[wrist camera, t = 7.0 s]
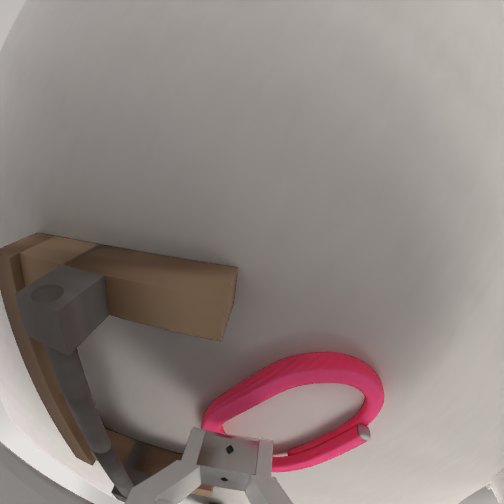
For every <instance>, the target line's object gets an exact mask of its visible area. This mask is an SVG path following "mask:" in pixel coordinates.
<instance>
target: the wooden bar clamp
mask: <svg viewBox="0 0 504 504" xmlns="http://www.w3.org/2000/svg"><path fill="white" fill-rule="evenodd" d="M237 269H238V268H237V267H231V266H224V265H218V264H212V263H206V262H199V261H193V260H187V259H181V258H175V257H169V256H163V255H158V254H152V253H146V252H140V251H134V250H129V249H123V248H118V247H112V246H106V245H101V244H95V243H90V242H84V241H79V240H74V239H68V238H63V237H58V236H53V235H47V234H42V233H35V234H33V235H30V236H28V237H26V238H23V239H21V240H19V241H16V242H14V243H12V244H10V245H7V246H5V247H3V248H1V249H0V290H1V294H2V298H3V302H4V305H5V309H6V312H7V316H8V319H9V322H10V325H11V328H12V331H13V334H14V337H15V340H16V343H17V345H18V348H19V351H20V353H21V356H22V358H23V361H24V363H25V366H26V368H27V370H28V372H29V375H30V377H31V379H32V381H33V383H34V386H35V388H36V390H37V392H38V394H39V396H40V398H41V400H42V402H43V404H44V405H45V407H46V409H47V411H48V413H49V415H50V416H51V418H52V420H53V422H54V423H55V425H56V427H57V428H58V430H59V432H60V433H61V435H62V436H63V438H64V440H65V441H66V443H67V444H68V446H69V447H70V449H71V450H72V452H73V453H74V455H75V456H76V457H77V458H79V459H80V460H82V461H84V462H86V463H88V464H90V465H92V466H93V464H94V463H95V461H96V460H97V461H99V463H100V464H101V466H102V467H103V469H104V470H105V472H106V473H107V475H108V476H109V478H110V479H111V481H112V482H113V483H114V485H115V486H114V488H113V490H112V494H113V495H114V496H115V497H116V498H117V499H118V500H120V501H123V502H126V500H127V498H128V496H129V493H130V491H131V489H132V488H133V487H135V486H136V485H138V484H140V483H141V482H143V481H145V480H146V479H148V478H150V477H151V476H153V475H155V474H156V473H158V472H159V471H161V470H163V469H164V468H166V467H167V466H169V465H170V464H172V463H173V462H175V461H176V460H180V461H181V459H182V456H183V455H182V454H178V453H174V452H171V451H167V450H164V449H161V448H157V447H154V446H151V445H148V444H145V443H142V442H139V441H136V440H134V439H131V438H128V437H125V436H123V435H120V434H118V433H115V432H113V431H110V430H108V429H106V428H104V425H103V423H102V421H101V418H100V416H99V413H98V411H97V408H96V406H95V403H94V400H93V398H92V395H91V392H90V389H89V387H88V384H87V381H86V378H85V375H84V372H83V368H82V365H81V362H80V358H79V355H78V351H77V347H78V346H79V345H80V344H81V343H82V342H83V341H84V340H85V338H86V337H87V336H88V335H89V334H90V333H91V332H92V331H93V330H94V329H95V328H96V327H97V326H98V325H99V324H100V323H101V322H102V321H103V320H104V319H105V318H106V317H107V316H108V315H112V316H115V317H119V318H122V319H126V320H130V321H133V322H137V323H141V324H145V325H149V326H153V327H157V328H161V329H165V330H169V331H173V332H178V333H182V334H187V335H192V336H196V337H201V338H206V339H211V340H217V341H221V339H222V336H223V333H224V330H225V327H226V324H227V321H228V318H229V316H230V313H231V310H232V307H233V304H234V296H235V287H236V278H237ZM213 487H214V486H211V485H206V484H201V485H200V486H199V487H198V488H196V489H195V490H194V491H193V492H192V493H191V494H195V495H200V496H204V497H209V498H211V496H212V491H213Z"/></svg>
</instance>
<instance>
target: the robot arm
mask: <svg viewBox="0 0 504 504" xmlns="http://www.w3.org/2000/svg"><path fill="white" fill-rule="evenodd" d="M272 457H273V440H264V439H258V438H250V437H242V436H235V435H228V434H223V433H218V432H213V431H208V430H205V429H200V428H195V427H193V428H192V430H191V433H190V436H189V438H188V441H187V444H186V447H185V450H184V453H183V456H182V459H181V461H180V460H176V461H175V462H173V463H172V464H170V465H169V466H167V467H166V468H164V469H163V470H161V471H159V472H158V473H156V474H155V475H153V476H151V477H150V478H148V479H146V480H145V481H143V482H141V483H140V484H138V485H136V486H135V487H133V488H132V489H131V491H130V493H129V496H128V498H127V500H126V502H125V504H178V503H179V502H180V501H182V500H183V499H184V498H185V497H187V496H188V495H189V494H190V493H192V492H193V491H194V490H195V489H196V488H198V487H199V486H200V485H201V484H206V485H211V486H217V487H223V488H228V489H234V490H240V491H245V493H246V495H247V497H248V499H249V501H250V503H251V504H293V503H292V501H291V500H290V499H289V497H288V496H287V494H286V493H285V491H284V490H283V489H282V487H281V486H280V484H279V483H278V481H277V480H276V478H275V477H271V469H272ZM486 487H487V489H488V490H489V489H492V490H493V493H494V495H495V497H496V499H497V501H498V503H499V504H504V468H503V469H502V470H501V471H500V472H499V473H498V474H497V475H496V476H495V477H494V478H493V479H492V480H491V482H490V484H488V485H486ZM0 504H94V503H92V502H90V501H88V500H86V499H84V498H82V497H80V496H78V495H76V494H75V493H73V492H71V491H69V490H68V489H66V488H64V487H62V486H61V485H59V484H57V483H56V482H54V481H53V480H51V479H49V478H48V477H46V476H45V475H43V474H42V473H40V472H39V471H38V470H36V469H35V468H33V467H32V466H31V465H29V464H28V463H26V462H25V461H24V460H22V459H21V458H20V457H18V456H17V455H16V454H15V453H13V452H12V451H11V450H10V449H8V448H7V447H6V446H5V445H4V444H3V443H1V442H0Z"/></svg>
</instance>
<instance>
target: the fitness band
mask: <svg viewBox="0 0 504 504" xmlns="http://www.w3.org/2000/svg"><path fill="white" fill-rule="evenodd" d="M313 383H341V384H346V385H350V386H353V387H356V388H357V389H359V390H360V391H362V393H363V394H364V395H365V402H364V404H363V406H362V408H361V409H360V410H359V412H358V413H357V414H356V415H355V416H354V417H353V418H352V419H350V420H349V421H348V422H346V423H345V424H343V425H342V426H340V427H338V428H337V429H335V430H333V431H331V432H330V433H328V434H326V435H324V436H322V437H320V438H317V439H315V440H313V441H311V442H308V443H306V444H303V445H301V446H299V447H296V448H294V449H291V450H289V451H288V452H287V454H288V456H284V457H272V469H271V472H287V471H294V470H299V469H303V468H307V467H311V466H314V465H317V464H319V463H322V462H324V461H327V460H329V459H332V458H334V457H336V456H338V455H341V454H343V453H345V452H347V451H349V450H351V449H353V448H355V447H357V446H359V445H361V444H363V443H364V442H366V441H367V440H369V439H370V431H369V428H368V427H367V425H368V424H369V423H370V422H371V421H372V420H373V419H374V418H375V417H376V416H377V414H378V413H379V411H380V410H381V408H382V406H383V402H384V392H383V387H382V384H381V381H380V379H379V377H378V375H377V374H376V373H375V371H374V370H373V369H372V368H371V367H370V366H368V365H367V364H366V363H364V362H363V361H361V360H359V359H357V358H355V357H352V356H349V355H346V354H341V353H335V352H315V353H306V354H301V355H296V356H292V357H288V358H285V359H282V360H280V361H277V362H275V363H273V364H271V365H269V366H267V367H266V368H264V369H262V370H260V371H259V372H257V373H255V374H254V375H252V376H250V377H249V378H247V379H246V380H244V381H242V382H241V383H239V384H238V385H236V386H234V387H233V388H231V389H230V390H228V391H227V392H225V393H224V394H222V395H221V396H219V397H218V398H217V399H215V400H214V401H213V402H212V403H211V405H210V406H209V407H208V408H207V410H206V412H205V414H204V417H203V421H202V426H201V429H205V430H208V431H213V432H218V433H223V434H225V432H224V430H223V427H222V424H223V423H224V422H226V421H227V420H229V419H231V418H232V417H234V416H236V415H238V414H240V413H242V412H244V411H246V410H248V409H250V408H252V407H253V406H255V405H257V404H259V403H261V402H263V401H265V400H267V399H269V398H271V397H272V396H274V395H276V394H278V393H280V392H283V391H285V390H287V389H290V388H293V387H297V386H301V385H307V384H313Z"/></svg>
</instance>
